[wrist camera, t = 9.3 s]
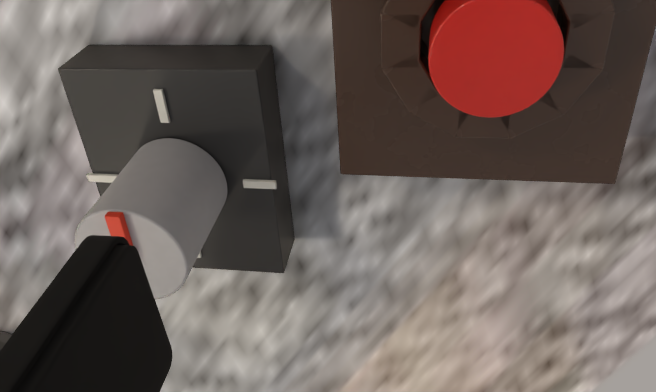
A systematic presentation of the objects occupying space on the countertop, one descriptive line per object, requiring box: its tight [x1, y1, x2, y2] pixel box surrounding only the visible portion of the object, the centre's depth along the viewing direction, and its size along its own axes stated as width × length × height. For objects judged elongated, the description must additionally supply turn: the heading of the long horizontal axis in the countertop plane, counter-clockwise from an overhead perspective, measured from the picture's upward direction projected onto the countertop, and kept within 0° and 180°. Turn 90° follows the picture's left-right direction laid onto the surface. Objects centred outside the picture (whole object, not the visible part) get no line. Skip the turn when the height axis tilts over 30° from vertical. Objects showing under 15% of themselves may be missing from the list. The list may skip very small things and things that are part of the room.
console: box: [58, 45, 295, 273], centre depth 26 cm, size 10×8×3 cm
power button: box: [428, 0, 564, 118], centre depth 17 cm, size 4×4×2 cm
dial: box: [75, 138, 227, 299], centre depth 23 cm, size 4×4×5 cm
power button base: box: [331, 0, 656, 184], centre depth 20 cm, size 12×10×5 cm
